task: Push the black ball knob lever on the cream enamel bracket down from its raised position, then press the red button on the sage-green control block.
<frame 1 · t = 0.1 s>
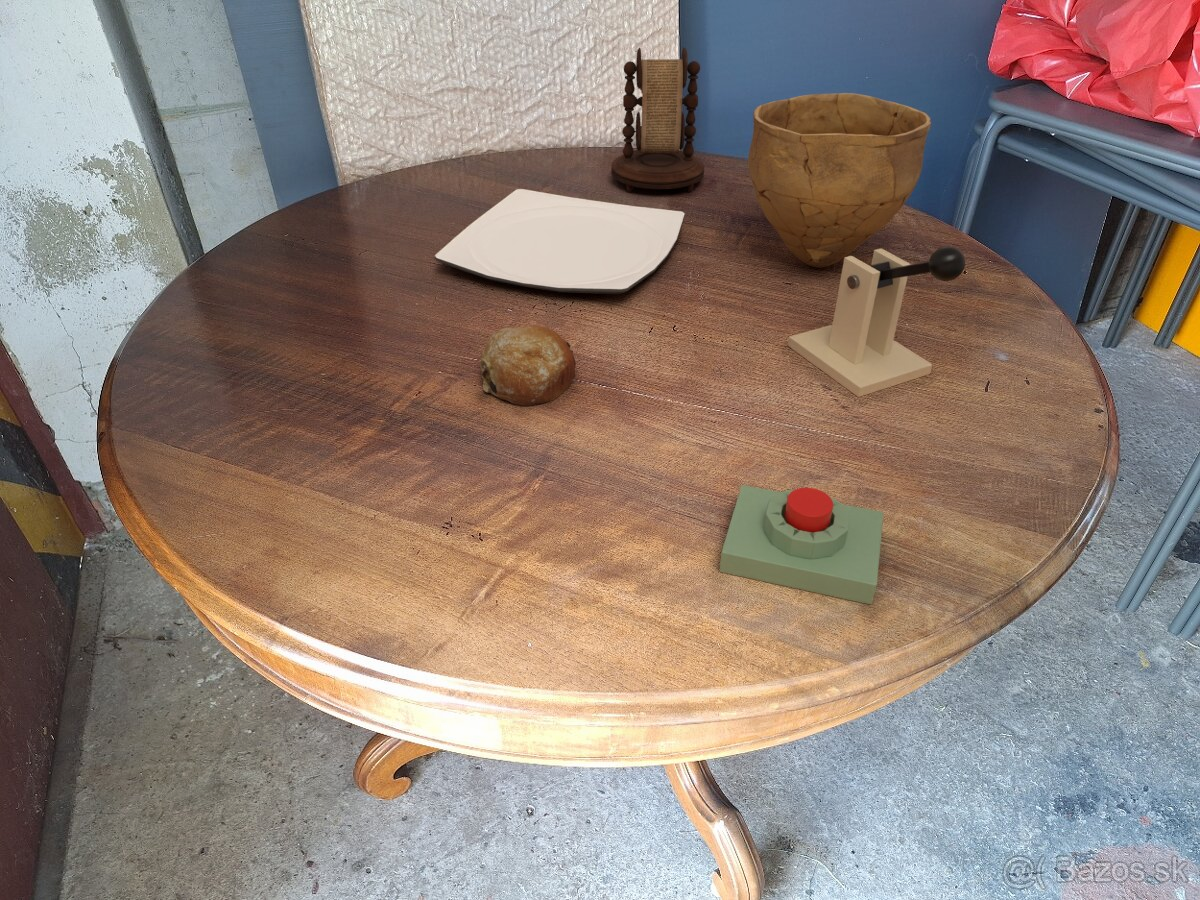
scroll: (657, 182, 143), on the table
lever bracket: (857, 359, 99), on the table
bread roll: (529, 381, 95), on the table
bowl: (816, 267, 118), on the table
start button: (808, 509, 71), point 4 cm above the table, slide at 0.1 cm
button block: (801, 551, 74), on the table
plate: (566, 253, 122), on the table
black ball knob lever: (909, 270, 88), point 13 cm above the table, hinge at 30.0°
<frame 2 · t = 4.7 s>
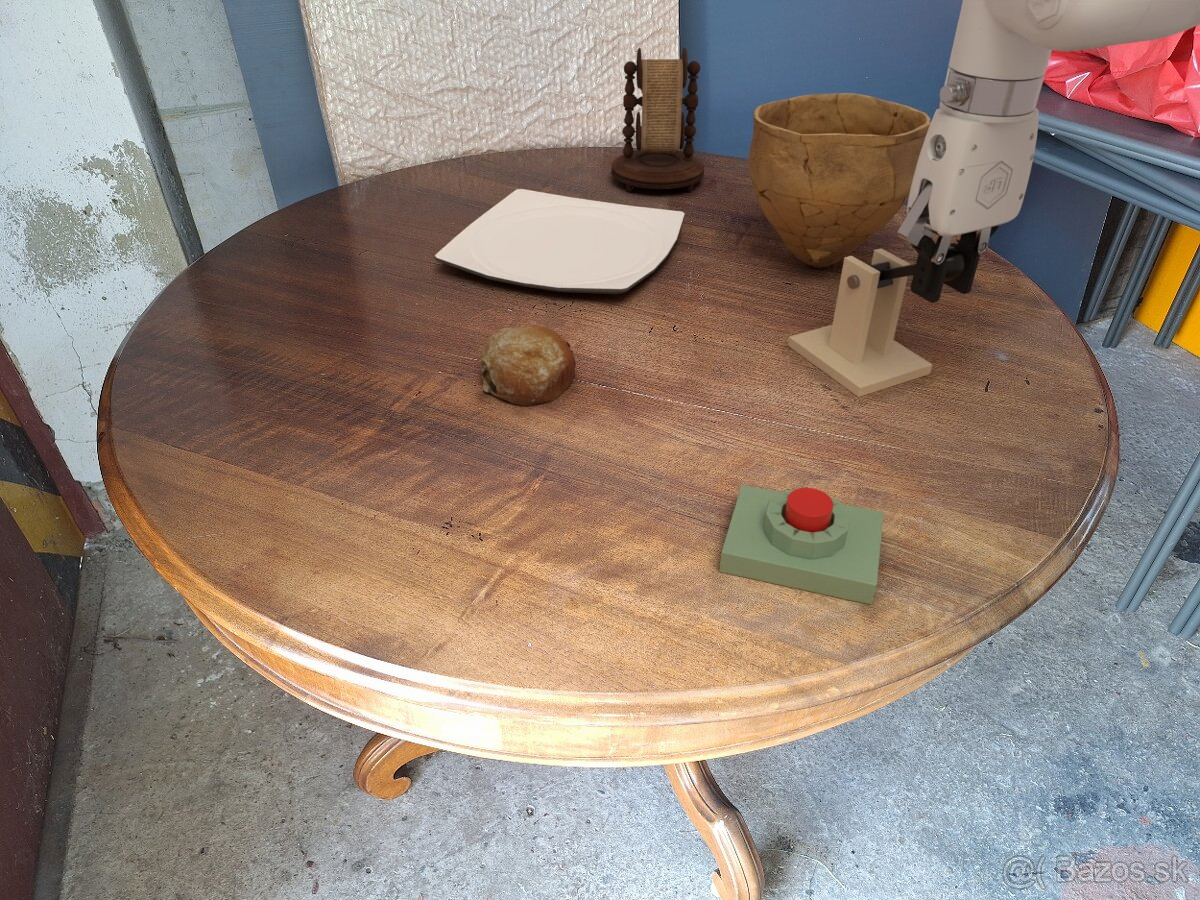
hand: (940, 290, 85), 12 cm above the table, tool pointing down, fingers closed on black ball knob lever, 3 cm apart
black ball knob lever: (909, 270, 88), point 13 cm above the table, hinge at 30.0°, touching gripper
everything else where it was.
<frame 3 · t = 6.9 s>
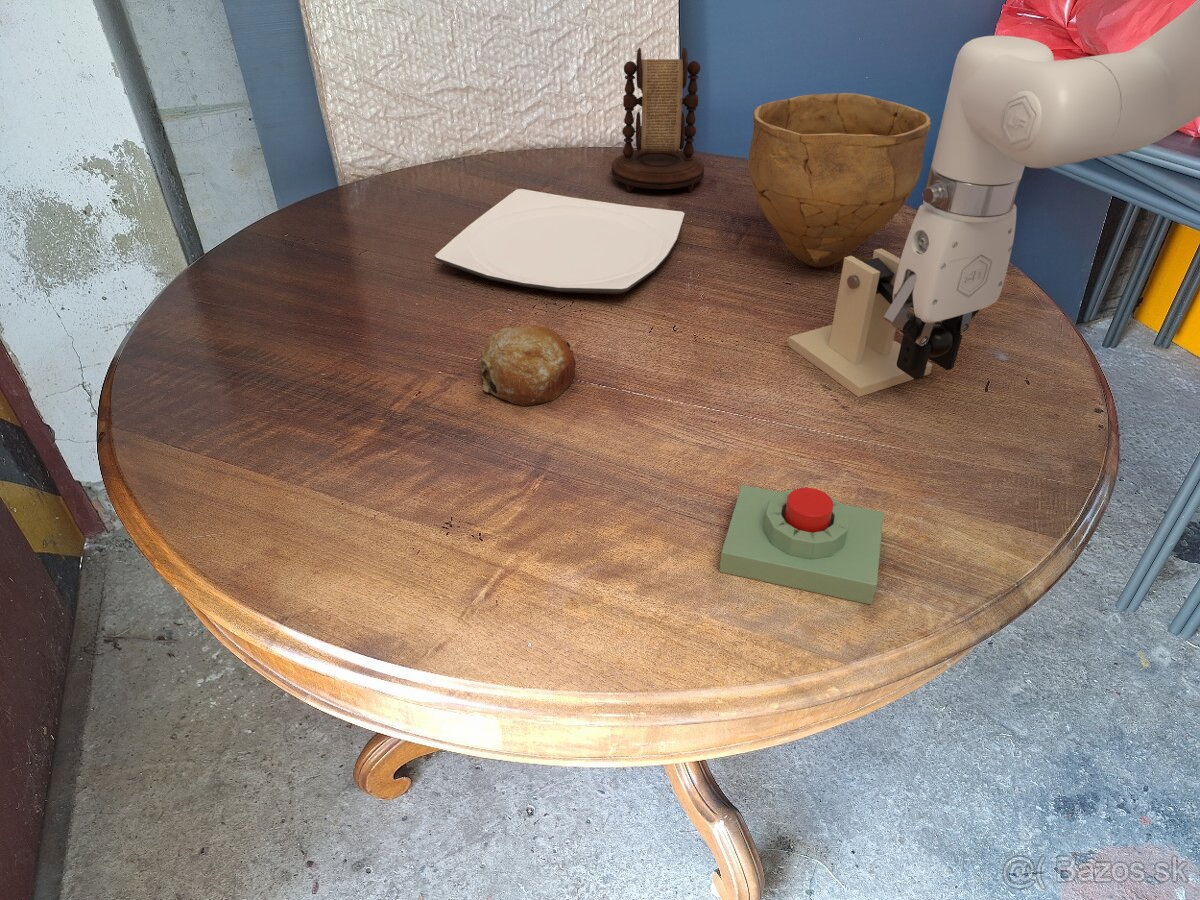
hand: (924, 366, 90), 4 cm above the table, tool pointing down, fingers closed on black ball knob lever, 3 cm apart
black ball knob lever: (904, 308, 90), point 9 cm above the table, hinge at -16.0°, touching gripper
everything else where it was.
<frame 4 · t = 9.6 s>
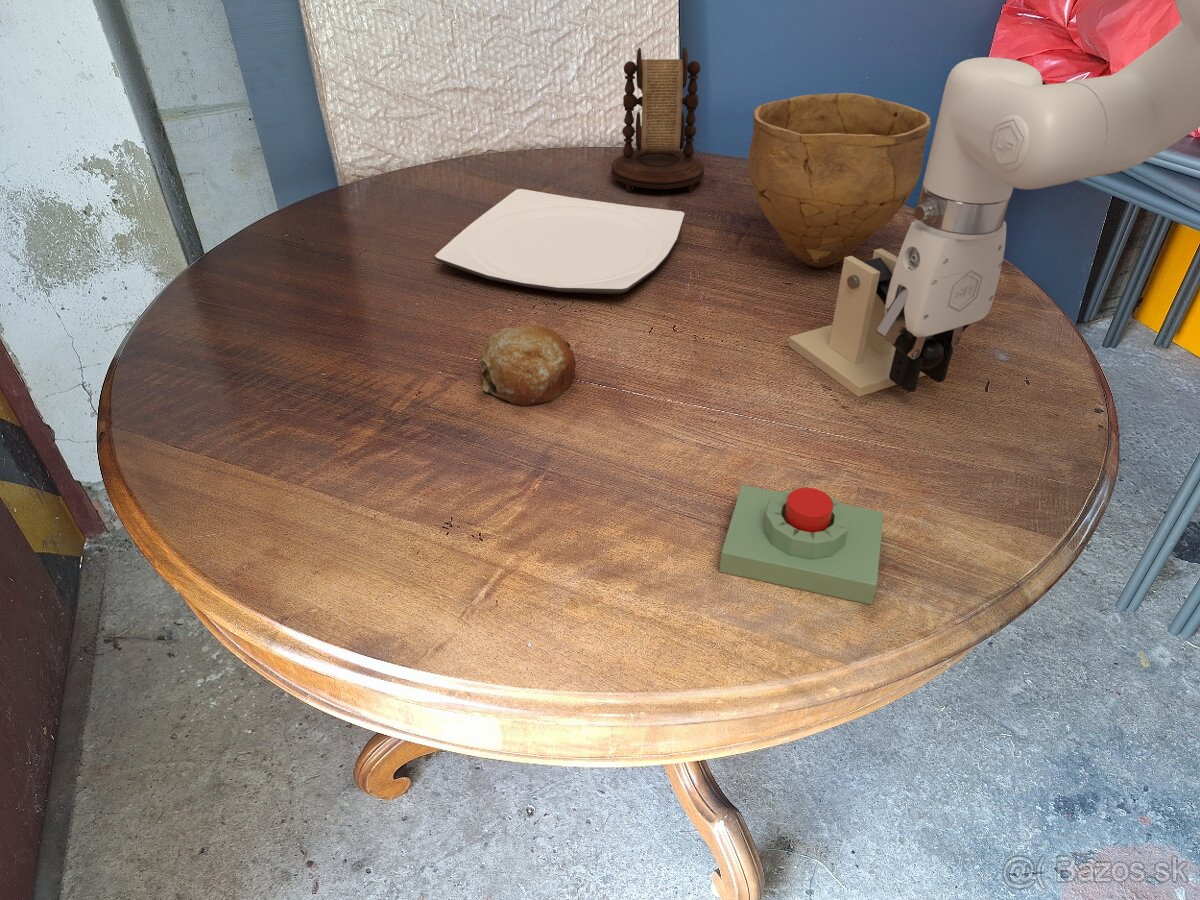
hand: (916, 378, 91), 2 cm above the table, tool pointing down, fingers closed on black ball knob lever, 3 cm apart
black ball knob lever: (900, 314, 91), point 8 cm above the table, hinge at -26.3°, touching gripper
everything else where it was.
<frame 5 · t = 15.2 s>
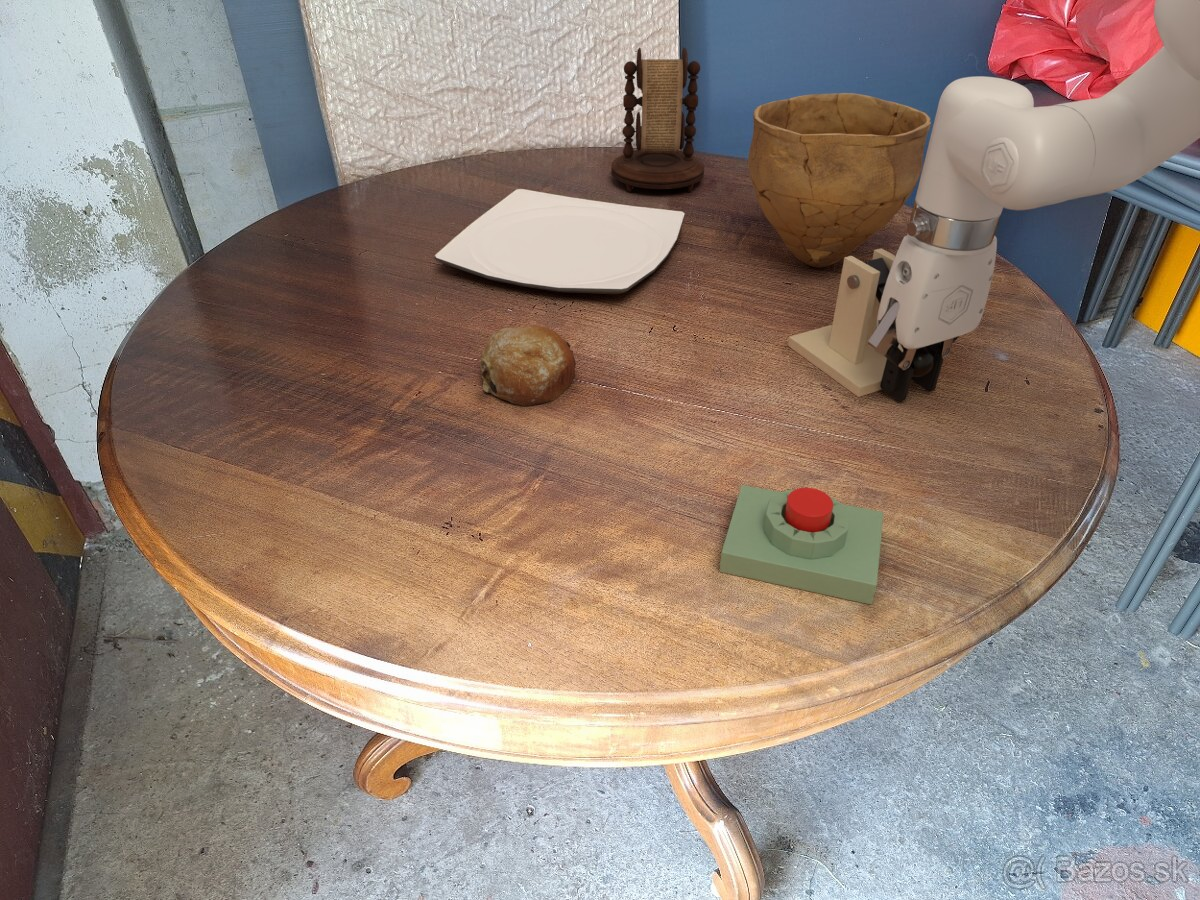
hand: (907, 388, 93), 1 cm above the table, tool pointing down, fingers closed on black ball knob lever, 3 cm apart
black ball knob lever: (895, 319, 92), point 7 cm above the table, hinge at -36.3°, touching gripper
everything else where it was.
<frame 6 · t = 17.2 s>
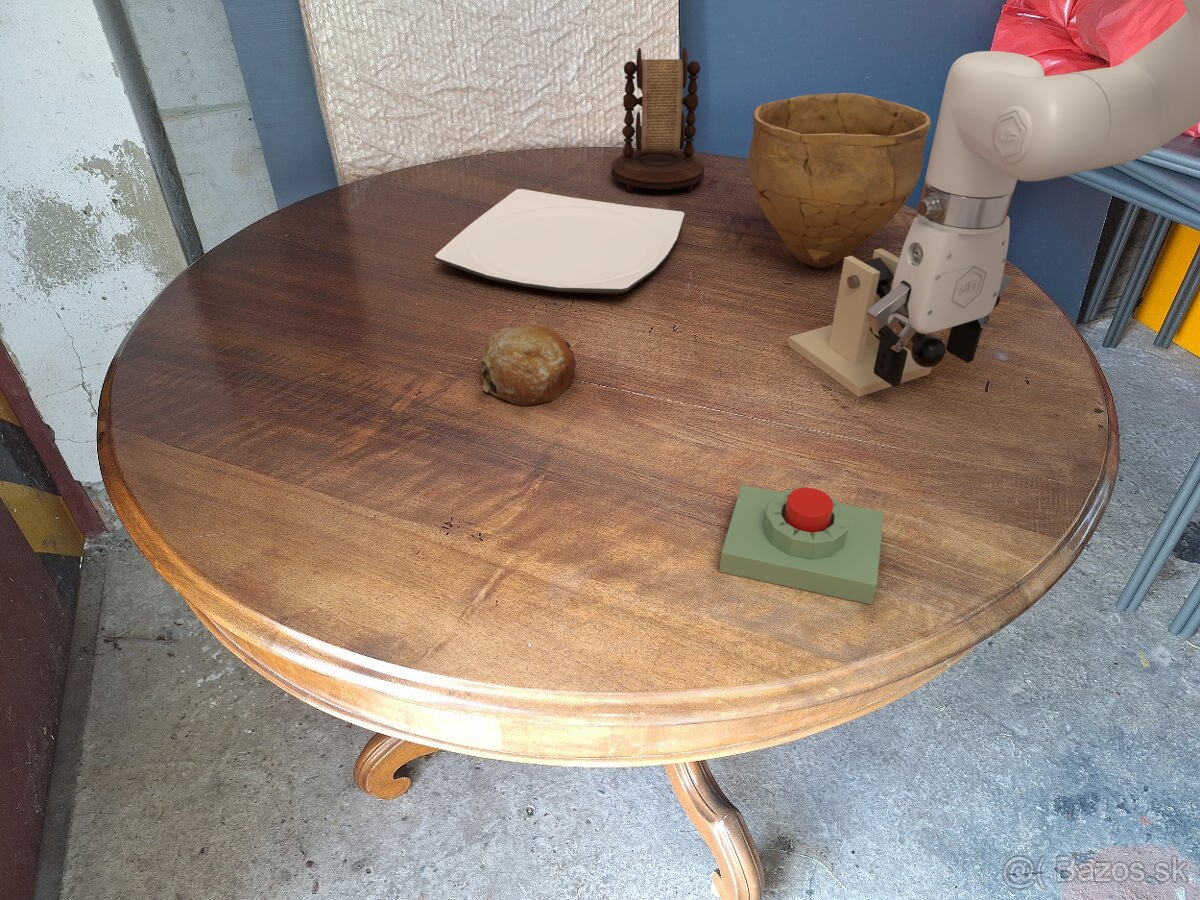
hand: (923, 367, 90), 4 cm above the table, tool pointing down, fingers open, 9 cm apart
black ball knob lever: (900, 313, 91), point 8 cm above the table, hinge at -25.1°
everything else where it was.
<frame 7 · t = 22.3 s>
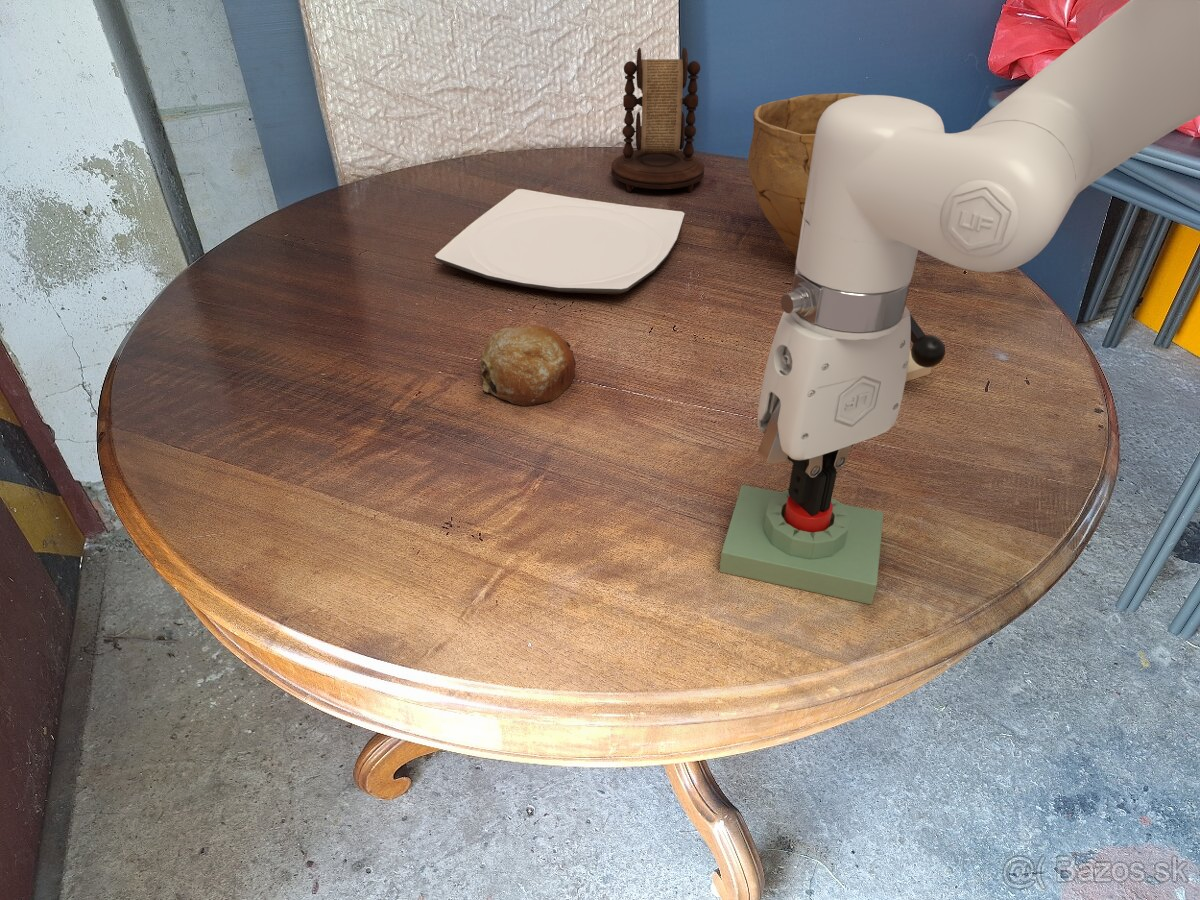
hand: (808, 502, 71), 5 cm above the table, tool pointing down, fingers closed
start button: (808, 512, 71), point 4 cm above the table, slide at -0.1 cm, touching gripper
everything else where it was.
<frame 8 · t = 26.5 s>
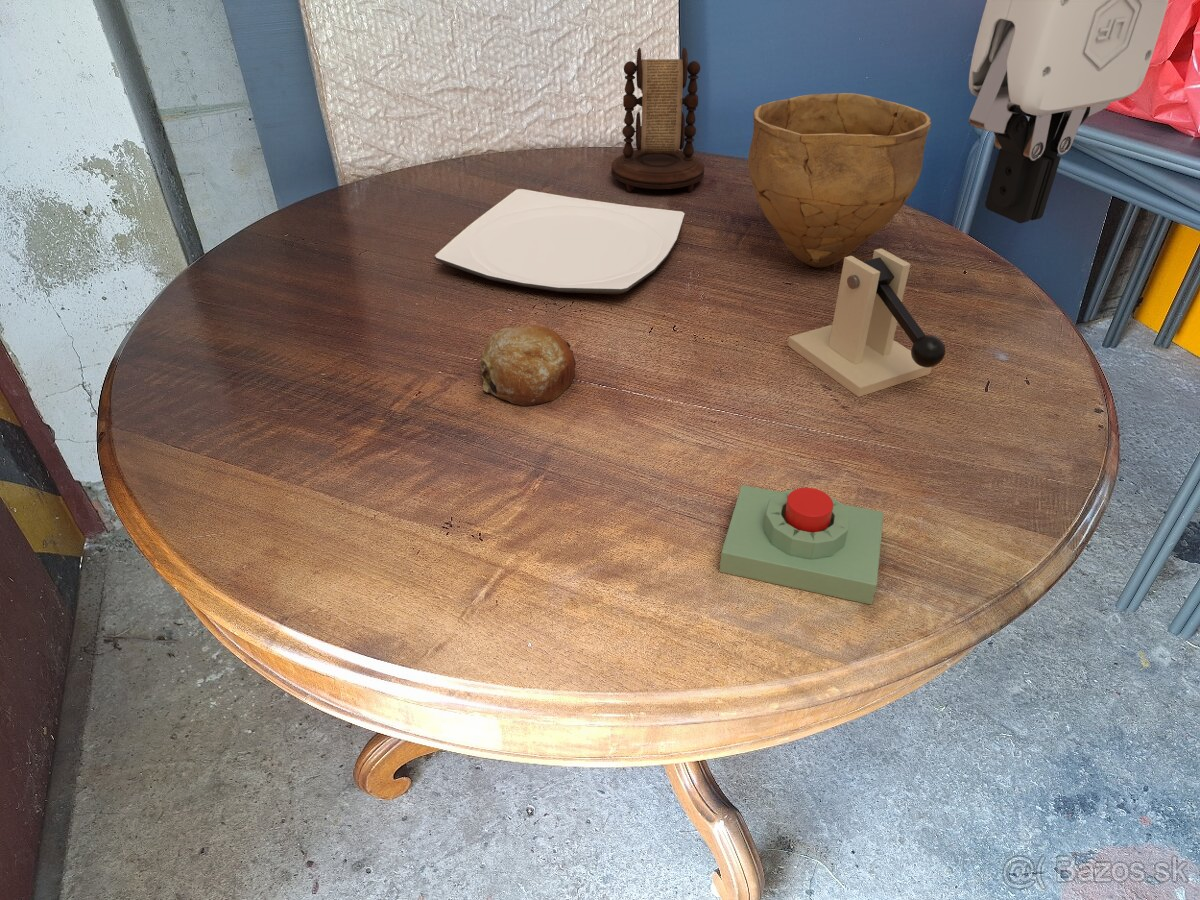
hand: (1012, 213, 57), 29 cm above the table, tool pointing down, fingers closed
start button: (808, 509, 71), point 4 cm above the table, slide at 0.1 cm
everything else where it was.
at the end: black ball knob lever at -25° (first picture: +30°); start button pushed in 1.1 cm at the most during the clip, back to where it started at the end; start button slide at 0.1 cm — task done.
